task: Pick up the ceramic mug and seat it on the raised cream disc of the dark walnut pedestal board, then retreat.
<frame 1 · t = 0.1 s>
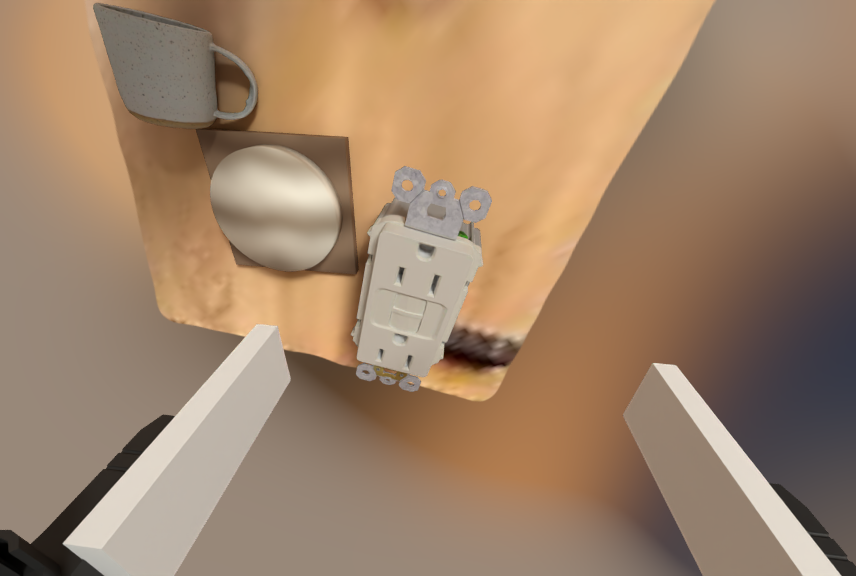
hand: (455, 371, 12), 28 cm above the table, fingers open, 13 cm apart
pedestal: (288, 206, 39), on the table
electrical outlet: (418, 270, 42), on the table
ceramic mug: (209, 74, 32), on the table
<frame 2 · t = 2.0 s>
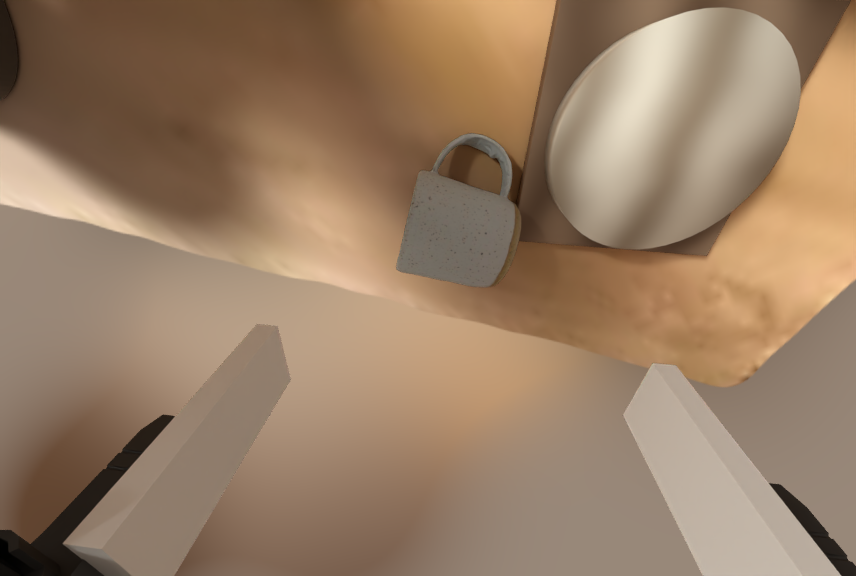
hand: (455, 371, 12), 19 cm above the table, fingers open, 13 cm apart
pedestal: (639, 142, 24), on the table
ceramic mug: (457, 201, 27), on the table
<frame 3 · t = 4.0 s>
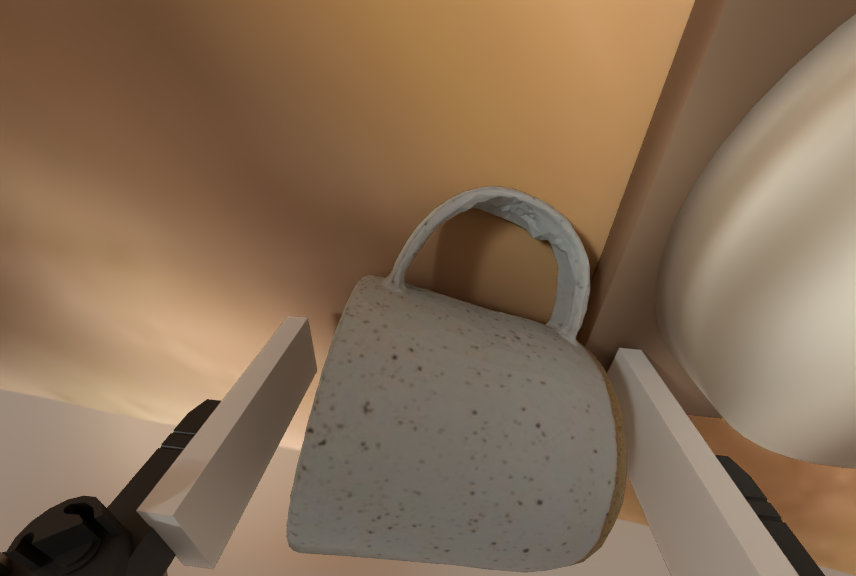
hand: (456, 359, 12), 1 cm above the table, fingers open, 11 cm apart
ceramic mug: (454, 311, 13), on the table
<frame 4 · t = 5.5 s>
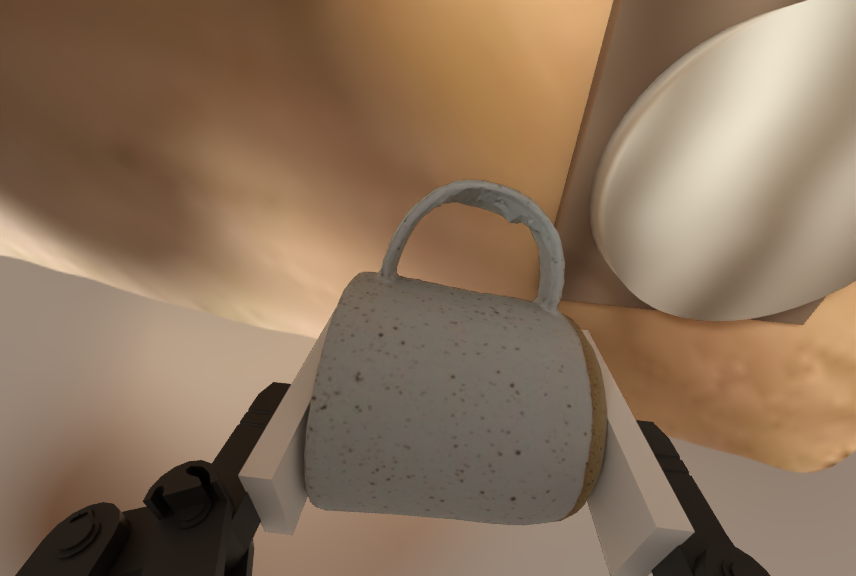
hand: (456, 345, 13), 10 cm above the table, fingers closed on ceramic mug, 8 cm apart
pedestal: (720, 177, 17), on the table
ceramic mug: (453, 300, 14), point 8 cm above the table, touching gripper
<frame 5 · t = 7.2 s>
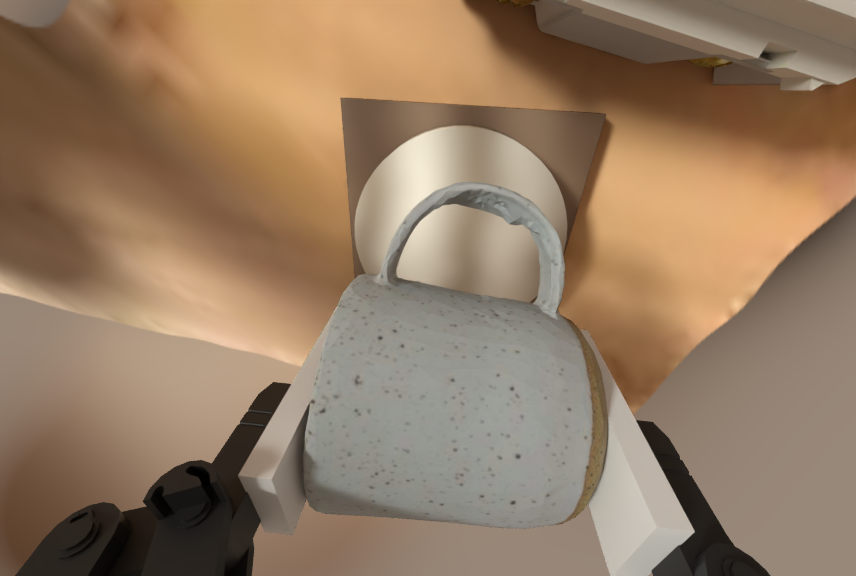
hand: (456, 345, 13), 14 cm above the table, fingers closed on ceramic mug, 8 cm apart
pedestal: (457, 225, 25), on the table
ceramic mug: (453, 302, 14), point 12 cm above the table, touching gripper
when the fingers open (5 cm above the table, at t = 9.4 s): ceramic mug stays where it is, resting on pedestal.
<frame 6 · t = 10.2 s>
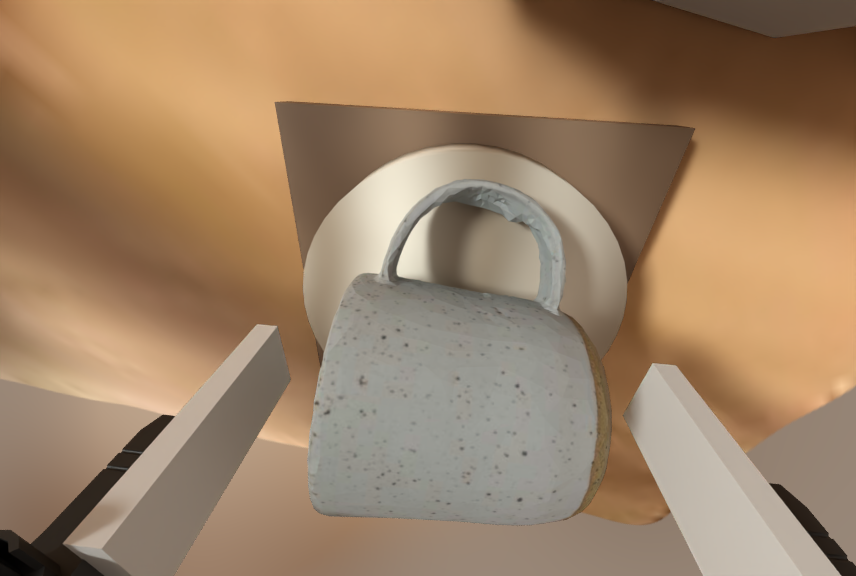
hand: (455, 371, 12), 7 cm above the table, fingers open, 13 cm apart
pedestal: (457, 280, 17), on the table
ceramic mug: (453, 300, 14), point 3 cm above the table, touching pedestal
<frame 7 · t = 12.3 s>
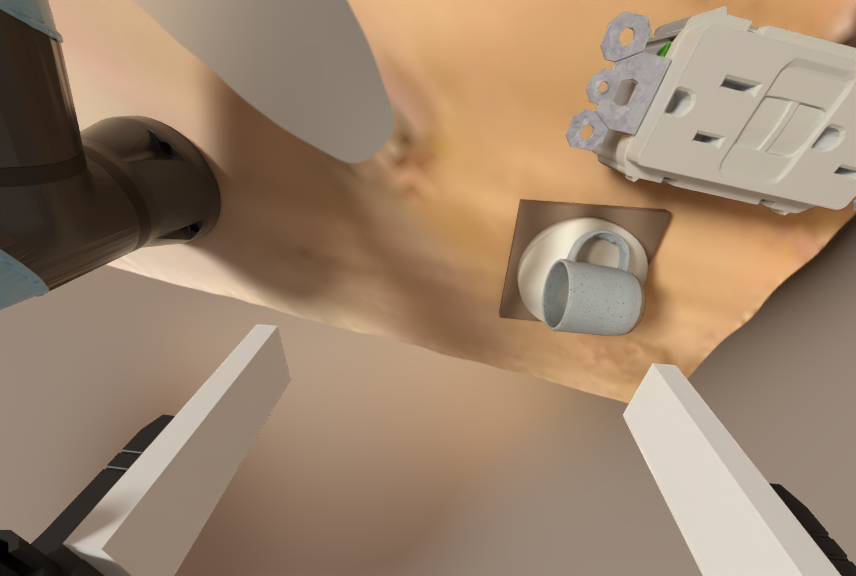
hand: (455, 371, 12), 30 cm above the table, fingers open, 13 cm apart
pedestal: (572, 266, 41), on the table
electrical outlet: (698, 119, 32), on the table
ceramic mug: (580, 270, 37), point 3 cm above the table, touching pedestal
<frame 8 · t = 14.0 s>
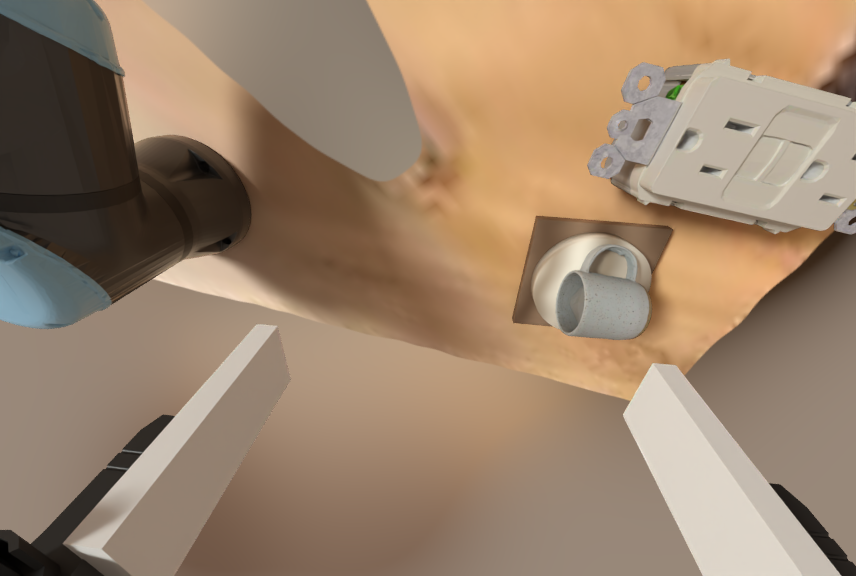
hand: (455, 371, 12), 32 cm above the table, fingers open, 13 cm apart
pedestal: (581, 276, 44), on the table
electrical outlet: (699, 145, 35), on the table
ceramic mug: (591, 280, 40), point 3 cm above the table, touching pedestal
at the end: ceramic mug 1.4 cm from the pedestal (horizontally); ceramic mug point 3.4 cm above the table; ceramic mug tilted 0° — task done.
